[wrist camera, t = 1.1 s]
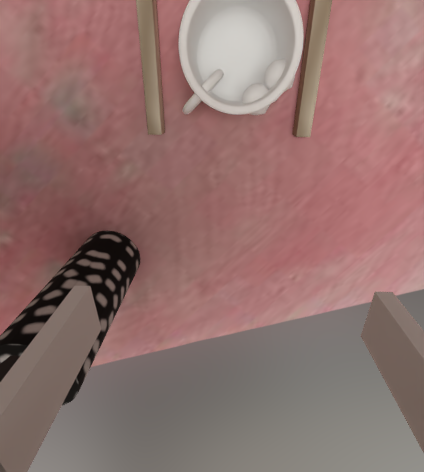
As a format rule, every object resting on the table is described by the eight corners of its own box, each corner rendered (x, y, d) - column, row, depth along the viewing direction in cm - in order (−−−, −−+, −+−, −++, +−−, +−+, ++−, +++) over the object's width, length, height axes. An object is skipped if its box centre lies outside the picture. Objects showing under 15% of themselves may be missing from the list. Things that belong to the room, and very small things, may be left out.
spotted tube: (151, 265, 43) (98, 391, 25) (108, 286, 45) (32, 416, 27) (116, 221, 39) (27, 330, 22) (72, 246, 42) (-41, 364, 24)
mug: (222, 145, 34) (221, 163, 26) (157, 74, 31) (133, 70, 23) (305, 63, 30) (335, 54, 22) (240, -28, 27) (246, -77, 19)
